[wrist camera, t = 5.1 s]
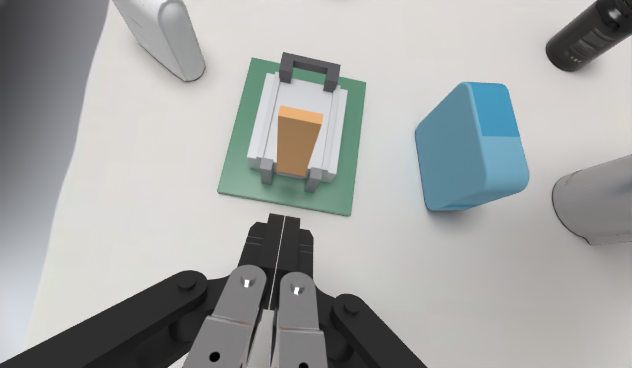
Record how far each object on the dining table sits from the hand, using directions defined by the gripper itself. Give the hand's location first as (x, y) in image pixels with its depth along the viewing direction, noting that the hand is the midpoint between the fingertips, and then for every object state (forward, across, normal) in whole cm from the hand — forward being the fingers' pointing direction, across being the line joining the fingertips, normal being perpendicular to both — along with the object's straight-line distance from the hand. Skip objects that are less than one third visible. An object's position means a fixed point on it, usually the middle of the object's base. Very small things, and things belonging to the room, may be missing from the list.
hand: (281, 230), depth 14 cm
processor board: (+26, 0, +4) cm, 26 cm away
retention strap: (+17, 0, +5) cm, 17 cm away
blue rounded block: (+25, -19, +5) cm, 32 cm away
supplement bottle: (+42, -41, -13) cm, 61 cm away
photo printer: (+32, +18, -2) cm, 37 cm away
